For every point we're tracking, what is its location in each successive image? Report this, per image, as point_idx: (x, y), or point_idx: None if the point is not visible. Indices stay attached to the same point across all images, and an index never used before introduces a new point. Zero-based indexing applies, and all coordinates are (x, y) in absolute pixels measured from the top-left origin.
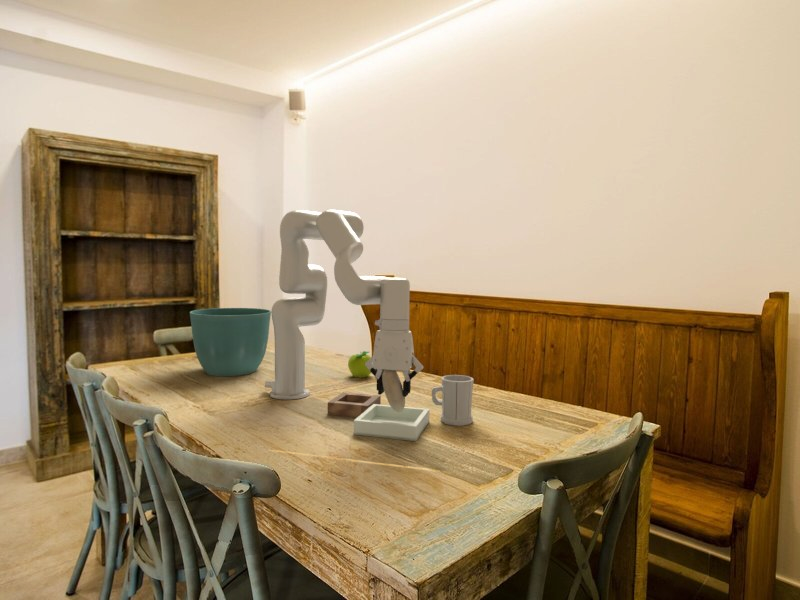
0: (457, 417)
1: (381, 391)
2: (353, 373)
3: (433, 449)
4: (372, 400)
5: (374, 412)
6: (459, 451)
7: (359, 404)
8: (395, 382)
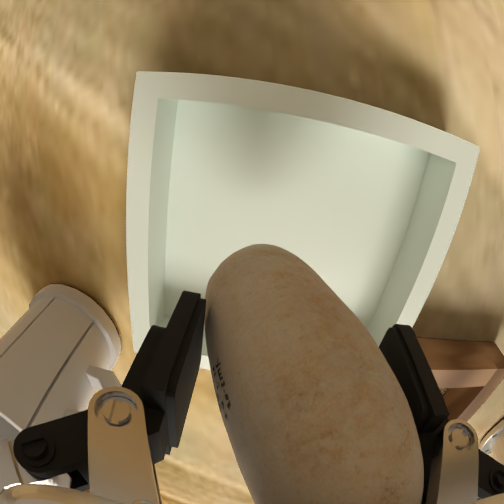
0: (46, 302)
1: (389, 349)
2: None
3: (97, 16)
4: None
5: None
6: (28, 37)
7: None
8: (269, 388)
